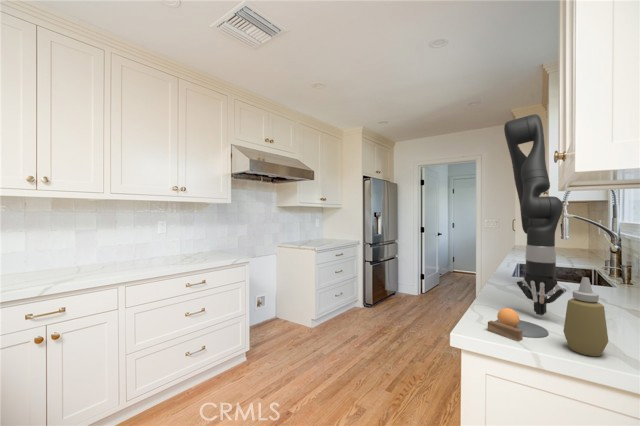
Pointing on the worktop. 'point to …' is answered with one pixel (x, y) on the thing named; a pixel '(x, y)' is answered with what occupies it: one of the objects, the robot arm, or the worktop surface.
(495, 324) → the strip
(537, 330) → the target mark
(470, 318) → the worktop surface
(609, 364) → the worktop surface
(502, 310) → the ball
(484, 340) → the worktop surface
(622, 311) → the worktop surface
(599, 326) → the squeeze bottle
